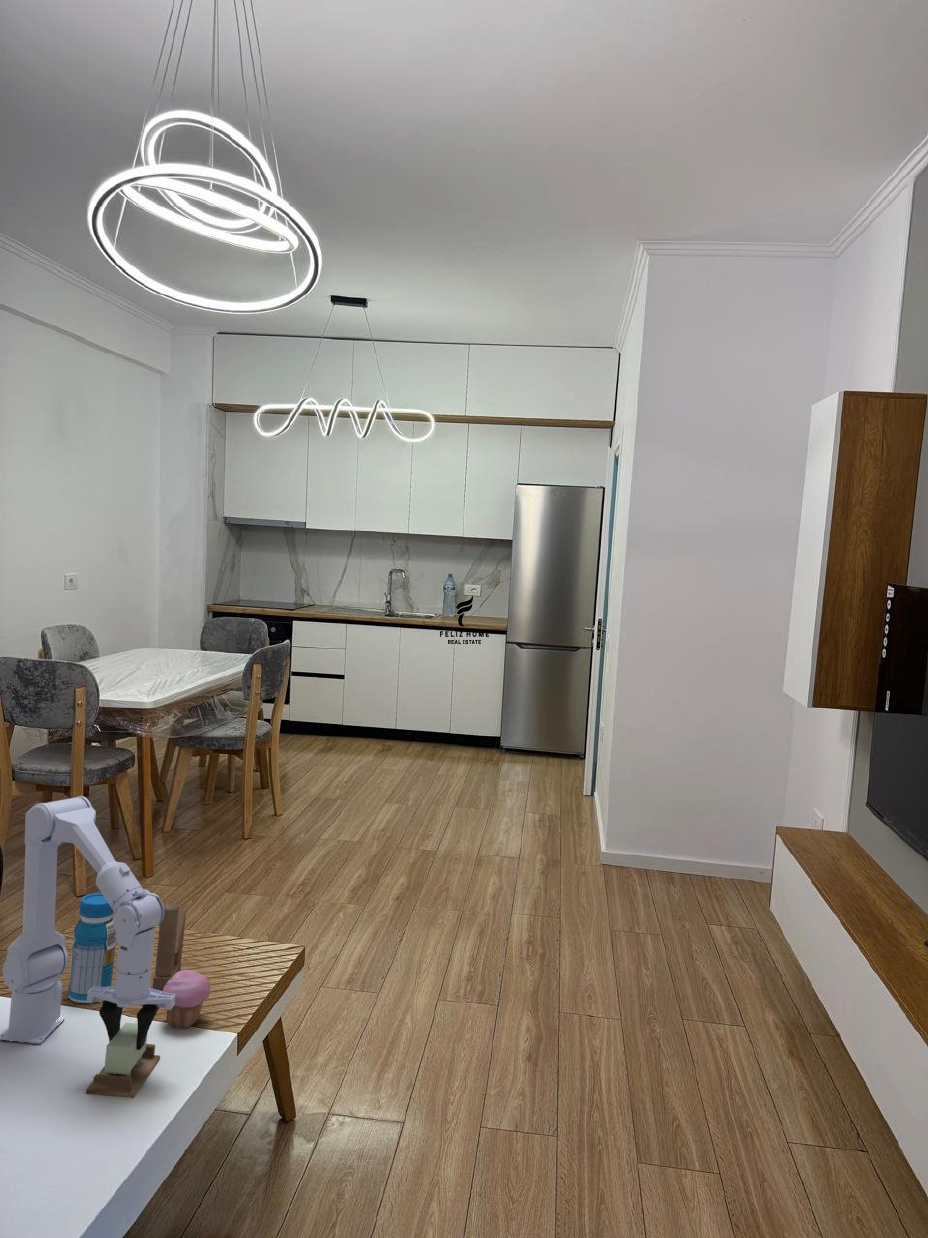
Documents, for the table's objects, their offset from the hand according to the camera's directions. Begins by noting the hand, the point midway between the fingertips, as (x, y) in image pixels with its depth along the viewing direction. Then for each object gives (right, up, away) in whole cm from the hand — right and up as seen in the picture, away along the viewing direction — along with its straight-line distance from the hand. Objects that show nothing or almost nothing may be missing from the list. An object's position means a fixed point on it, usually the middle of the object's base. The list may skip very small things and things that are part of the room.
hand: (127, 1046), depth 144 cm
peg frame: (0, -5, 0) cm, 5 cm away
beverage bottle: (-19, -4, +27) cm, 33 cm away
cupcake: (+3, -6, +19) cm, 20 cm away
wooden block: (-6, -5, +35) cm, 36 cm away
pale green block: (0, -3, 0) cm, 3 cm away
